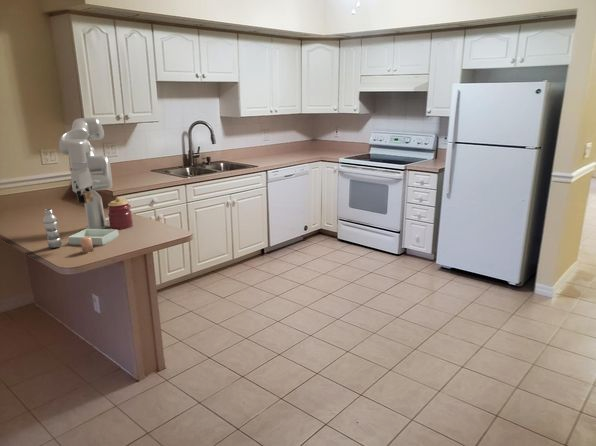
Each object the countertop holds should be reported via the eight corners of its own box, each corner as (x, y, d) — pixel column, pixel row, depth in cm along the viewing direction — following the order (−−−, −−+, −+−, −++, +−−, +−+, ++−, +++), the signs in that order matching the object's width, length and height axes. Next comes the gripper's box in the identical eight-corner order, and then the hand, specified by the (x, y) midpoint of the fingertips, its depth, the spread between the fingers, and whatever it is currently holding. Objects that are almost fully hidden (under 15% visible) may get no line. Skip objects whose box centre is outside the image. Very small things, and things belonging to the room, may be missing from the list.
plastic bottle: (64, 244, 242) (57, 207, 236) (58, 249, 235) (51, 211, 230) (52, 245, 241) (45, 208, 236) (45, 249, 235) (38, 211, 229)
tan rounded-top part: (86, 249, 233) (84, 236, 231) (95, 250, 232) (93, 236, 230) (80, 253, 228) (77, 239, 226) (89, 253, 227) (87, 239, 225)
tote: (87, 235, 256) (85, 228, 255) (118, 236, 252) (117, 229, 251) (69, 244, 242) (68, 237, 241) (102, 245, 238) (101, 237, 237)
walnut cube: (84, 200, 240) (83, 191, 238) (93, 200, 238) (91, 191, 237) (78, 203, 235) (76, 193, 233) (86, 203, 234) (85, 193, 232)
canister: (125, 230, 264) (121, 200, 259) (105, 229, 267) (100, 199, 262) (137, 223, 277) (133, 195, 272) (118, 223, 279) (113, 194, 274)
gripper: (84, 163, 240) (90, 197, 245) (61, 169, 224) (67, 205, 230) (97, 163, 238) (102, 197, 244) (74, 169, 222) (80, 205, 228)
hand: (85, 200), depth 237 cm, fingers closed on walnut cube, 5 cm apart
